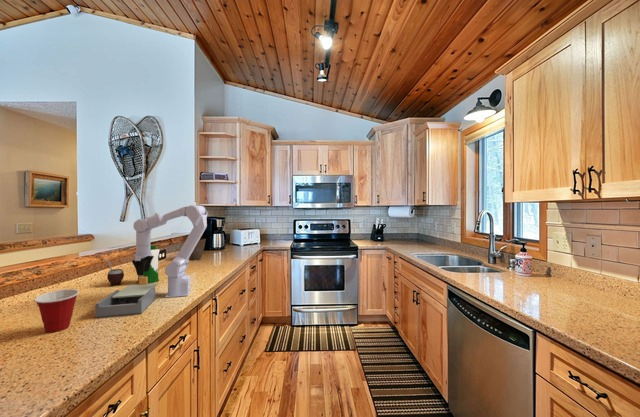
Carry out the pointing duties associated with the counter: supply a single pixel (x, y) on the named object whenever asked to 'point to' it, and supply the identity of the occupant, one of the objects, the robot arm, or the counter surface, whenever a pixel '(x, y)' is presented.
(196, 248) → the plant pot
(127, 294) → the lid
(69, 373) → the counter surface
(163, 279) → the counter surface
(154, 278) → the milk carton
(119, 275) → the mate gourd
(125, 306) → the parts tub
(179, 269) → the robot arm
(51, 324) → the plastic cup
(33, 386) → the counter surface
